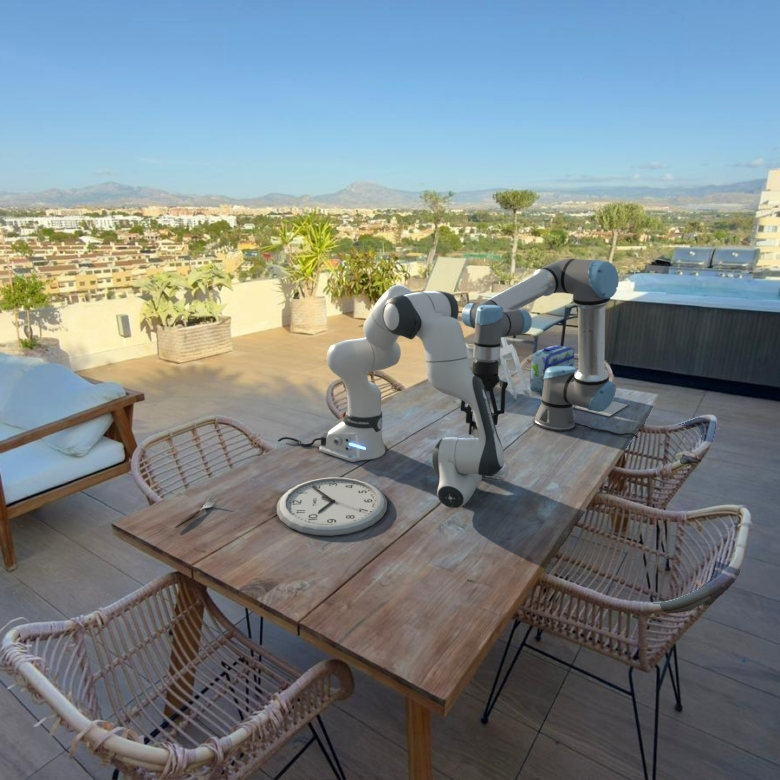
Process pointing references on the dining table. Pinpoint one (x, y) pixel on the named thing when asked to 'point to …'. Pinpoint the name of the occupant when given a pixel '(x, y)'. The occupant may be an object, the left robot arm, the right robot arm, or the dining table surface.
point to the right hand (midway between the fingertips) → (480, 433)
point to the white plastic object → (505, 364)
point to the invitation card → (607, 409)
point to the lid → (474, 423)
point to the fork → (206, 505)
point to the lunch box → (548, 363)
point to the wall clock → (331, 506)
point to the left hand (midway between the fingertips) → (479, 455)
